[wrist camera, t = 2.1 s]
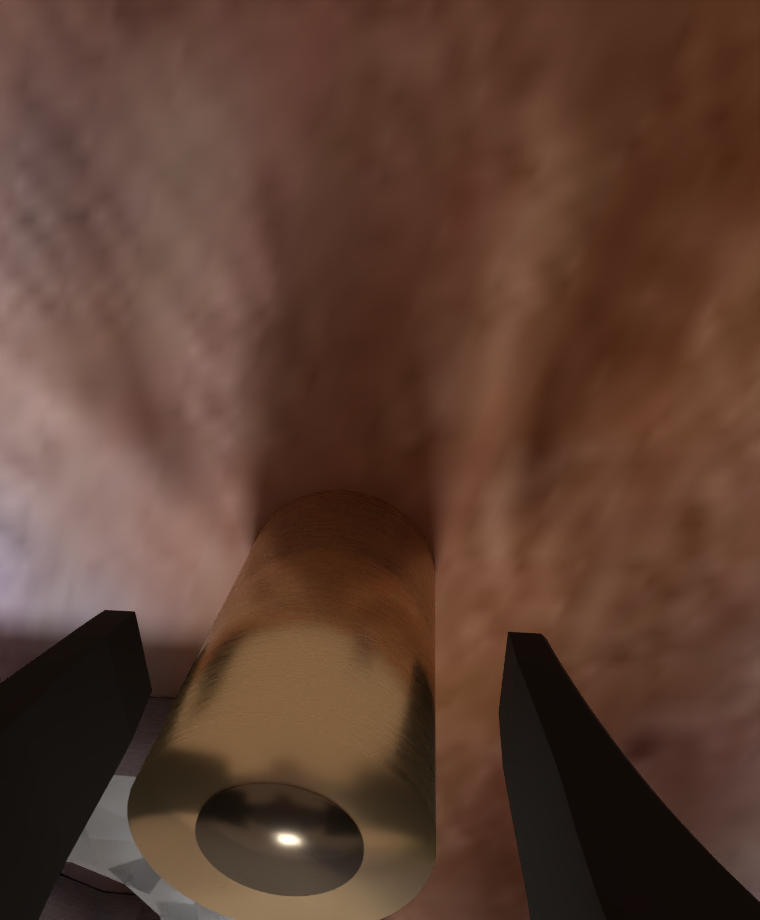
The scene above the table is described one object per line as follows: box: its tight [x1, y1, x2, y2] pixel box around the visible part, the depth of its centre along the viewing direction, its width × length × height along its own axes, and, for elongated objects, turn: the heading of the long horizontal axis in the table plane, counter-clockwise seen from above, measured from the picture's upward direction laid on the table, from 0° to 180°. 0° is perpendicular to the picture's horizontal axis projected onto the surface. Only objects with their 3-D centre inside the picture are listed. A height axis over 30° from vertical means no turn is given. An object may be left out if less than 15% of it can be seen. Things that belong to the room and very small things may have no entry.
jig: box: [39, 697, 383, 920], centre depth 18 cm, size 18×13×4 cm
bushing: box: [127, 491, 436, 920], centre depth 11 cm, size 4×4×6 cm
